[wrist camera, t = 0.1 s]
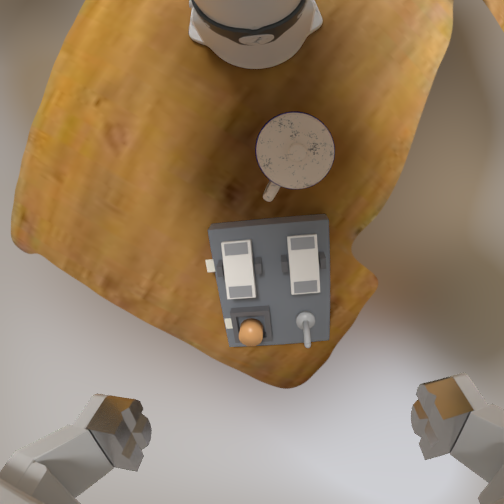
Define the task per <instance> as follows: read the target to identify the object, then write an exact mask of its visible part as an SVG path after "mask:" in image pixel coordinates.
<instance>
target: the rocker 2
mask: <svg viewBox="0 0 504 504" xmlns="http://www.w3.org/2000/svg"><path fill="white" fill-rule="evenodd" d="M287 243H288V255H289V268H290V281H291V294H292V295H296V294H308V293H319V292H320V277H319V260H318V245H317V234H306V235H294V236H287Z"/></svg>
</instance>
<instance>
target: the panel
mask: <svg viewBox="0 0 504 504" xmlns="http://www.w3.org/2000/svg"><path fill="white" fill-rule="evenodd" d="M306 234H317V245H318V260H319V277H320V292H319V293H308V294H296V295H292V294H291V281H290V268H289V255H288V243H287V236H294V235H306ZM208 235H209V241H210V247H211V253H212V258H213V259H210V260H205V261H206V266H207V272H215V275H216V280H217V286H218V291H219V296H220V301H221V307H222V312H223V317H224V322H225V327H226V332H227V337H228V342H229V347H239V346H246V345H244V344H242V343H241V342H240V340H239V331H240V325H241V323H242V322H243V321H244V320H246V319H249V318H253V319H257V320H259V321H260V322H261V323H262V325H263V339H262V341H261V343H260V344H258V345H256V346H261V345H277V344H291V343H304V345H305V347H306V348H310V347H311V342H315V341H326V340H329V332H330V241H329V219H328V217H327V216H326V214H315V215H302V216H290V217H278V218H267V219H256V220H245V221H235V222H225V223H215V224H211V225H210V227H209V229H208ZM247 239H251V242H252V253H253V263H254V274H255V284H256V298H241V299H227V292H226V283H225V275H224V266H223V257H222V247H221V243H222V242H224V241H235V240H247Z"/></svg>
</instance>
